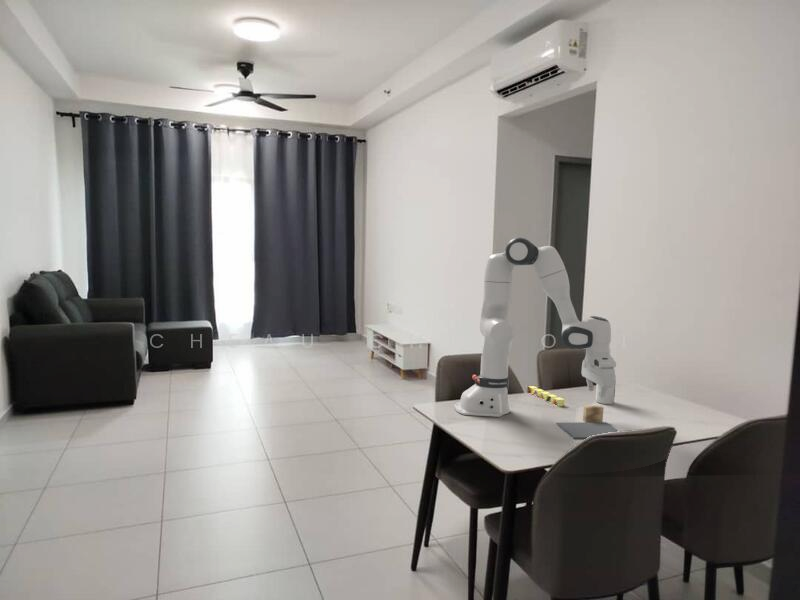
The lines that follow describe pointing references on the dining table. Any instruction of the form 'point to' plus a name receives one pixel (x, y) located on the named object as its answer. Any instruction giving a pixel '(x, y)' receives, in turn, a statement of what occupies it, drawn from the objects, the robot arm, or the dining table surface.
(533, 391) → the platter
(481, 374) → the robot arm
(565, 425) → the mat
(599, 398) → the milk bottle
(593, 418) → the wooden u-shaped block
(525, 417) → the dining table surface
